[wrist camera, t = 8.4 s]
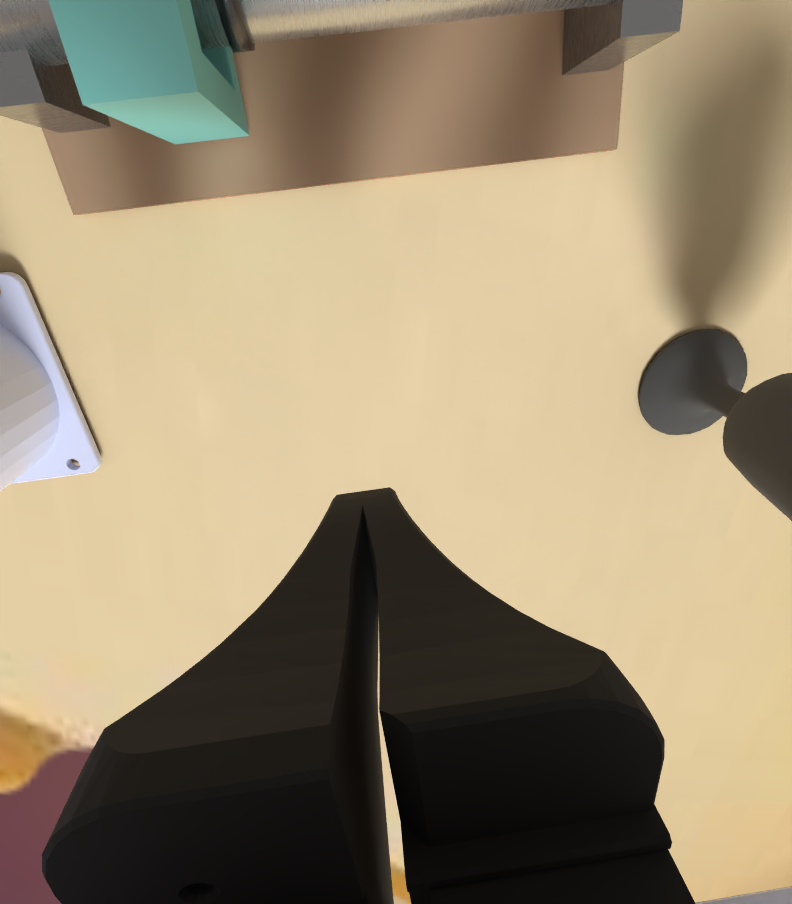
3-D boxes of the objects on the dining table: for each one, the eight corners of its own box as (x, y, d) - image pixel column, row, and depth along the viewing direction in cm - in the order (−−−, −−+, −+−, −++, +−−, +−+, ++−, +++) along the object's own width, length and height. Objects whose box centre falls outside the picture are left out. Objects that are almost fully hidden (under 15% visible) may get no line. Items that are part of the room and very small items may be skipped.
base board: (79, 214, 17) (73, 214, 17) (-57, -161, 13) (-68, -172, 13) (611, 150, 18) (617, 149, 17) (639, -225, 14) (647, -237, 13)
